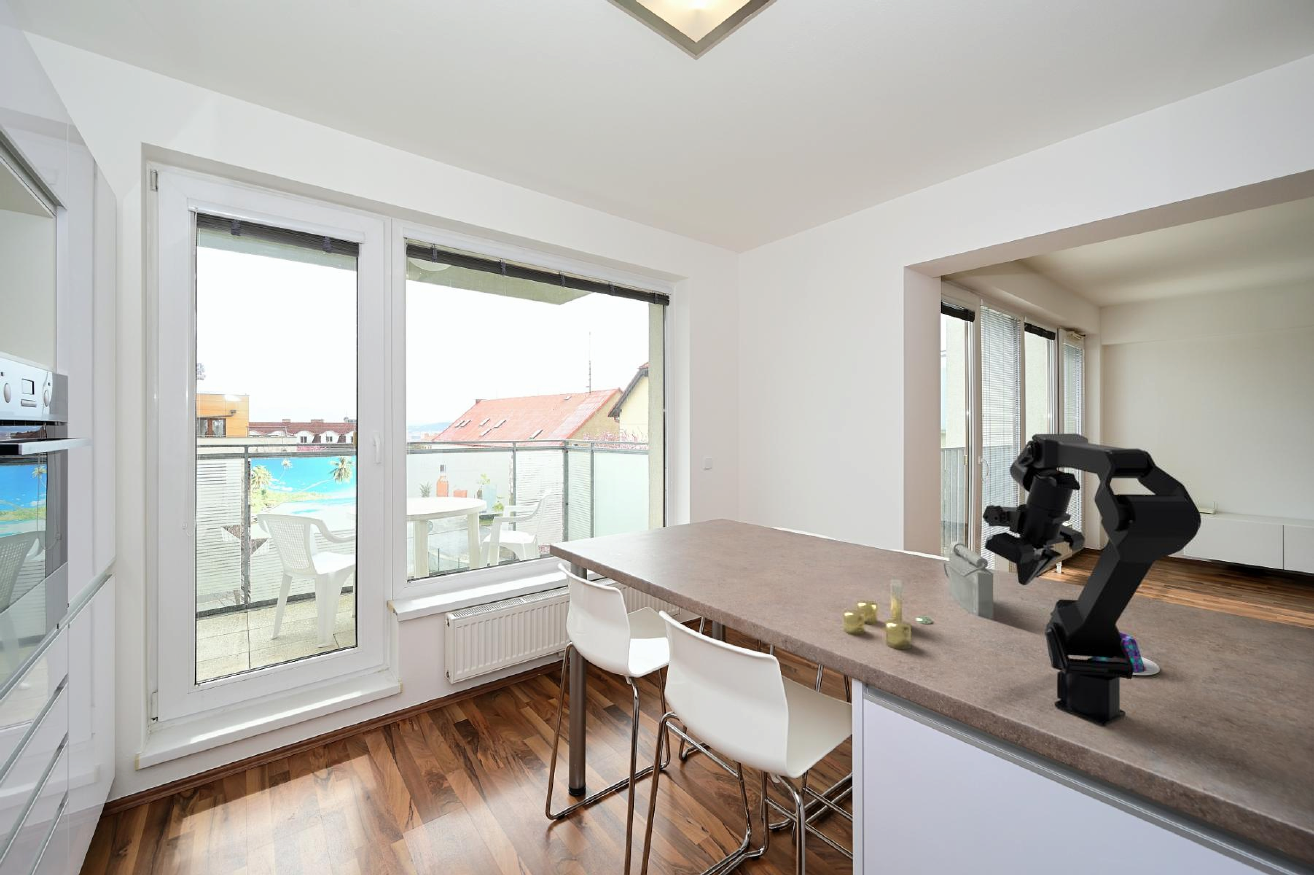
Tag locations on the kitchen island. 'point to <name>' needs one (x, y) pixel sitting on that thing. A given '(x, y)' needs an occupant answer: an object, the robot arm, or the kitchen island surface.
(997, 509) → the robot arm
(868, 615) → the base
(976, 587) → the geiger counter
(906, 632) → the lever
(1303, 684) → the kitchen island surface
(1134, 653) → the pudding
